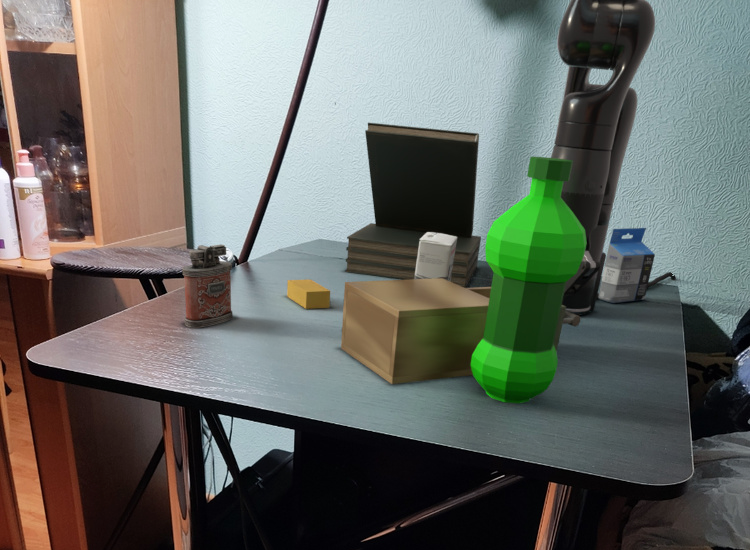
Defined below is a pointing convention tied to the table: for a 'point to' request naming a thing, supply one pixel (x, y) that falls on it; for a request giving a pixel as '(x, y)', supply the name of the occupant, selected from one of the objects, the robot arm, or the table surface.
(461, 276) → the stack of books
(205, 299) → the lighter
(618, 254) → the label tape box
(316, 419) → the table surface
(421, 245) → the ink box
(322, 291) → the yellow block
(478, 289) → the wooden drawer
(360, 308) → the tan rectangular box
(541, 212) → the plastic bottle
